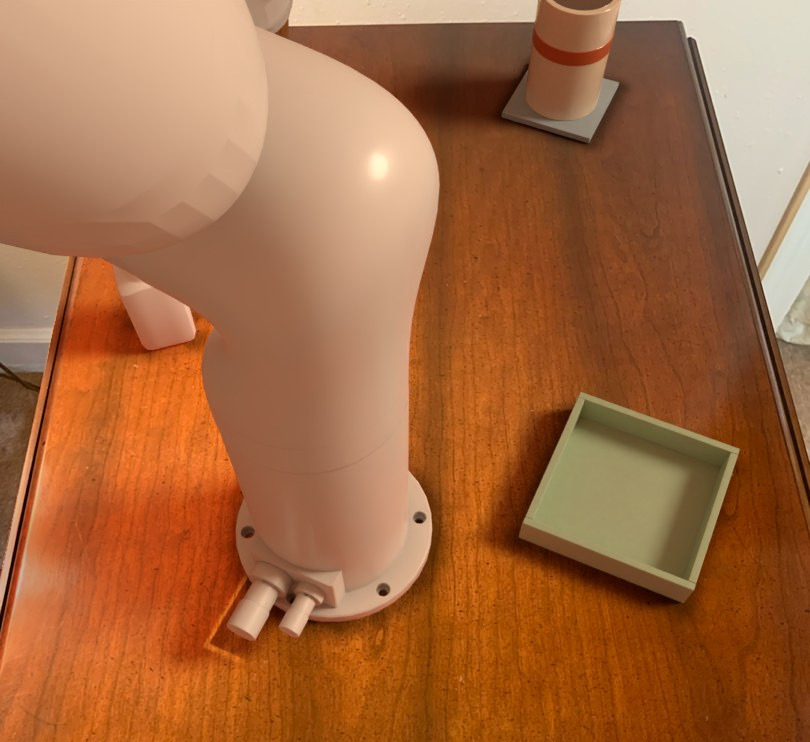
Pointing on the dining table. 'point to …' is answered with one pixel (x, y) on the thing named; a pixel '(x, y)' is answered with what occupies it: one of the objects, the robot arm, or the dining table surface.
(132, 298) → the pepper shaker
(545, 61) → the tumbler
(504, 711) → the dining table surface
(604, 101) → the mat
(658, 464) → the tray
